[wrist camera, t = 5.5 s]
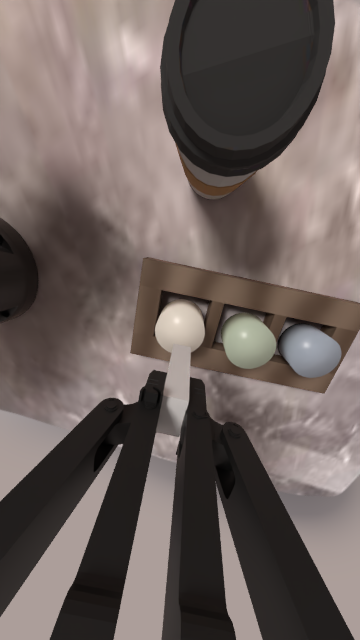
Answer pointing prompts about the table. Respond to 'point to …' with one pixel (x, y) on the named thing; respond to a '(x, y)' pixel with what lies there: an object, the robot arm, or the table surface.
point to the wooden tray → (222, 288)
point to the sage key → (247, 341)
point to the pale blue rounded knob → (309, 350)
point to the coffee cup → (241, 83)
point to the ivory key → (180, 325)
